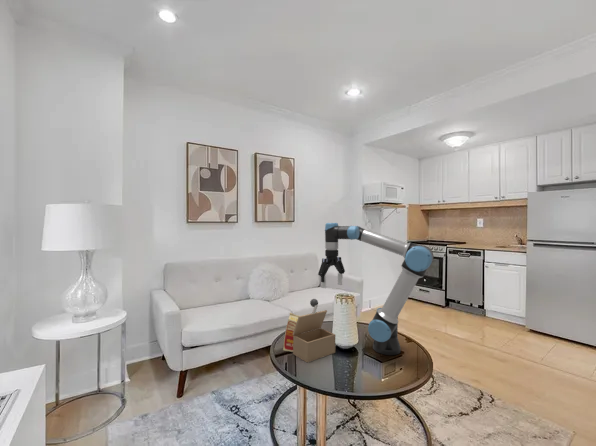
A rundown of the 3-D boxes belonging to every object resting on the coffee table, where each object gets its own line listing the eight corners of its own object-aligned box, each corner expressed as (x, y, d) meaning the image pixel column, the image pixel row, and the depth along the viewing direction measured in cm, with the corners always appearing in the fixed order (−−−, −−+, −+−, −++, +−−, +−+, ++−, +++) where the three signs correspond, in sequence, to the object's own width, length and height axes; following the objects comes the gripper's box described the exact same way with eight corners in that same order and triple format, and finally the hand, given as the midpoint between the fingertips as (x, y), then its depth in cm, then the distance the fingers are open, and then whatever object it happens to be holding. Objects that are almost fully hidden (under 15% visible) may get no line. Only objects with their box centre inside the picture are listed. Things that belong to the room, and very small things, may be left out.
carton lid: (331, 299, 164) (326, 294, 167) (303, 305, 151) (298, 299, 155) (320, 328, 170) (316, 322, 174) (293, 335, 158) (288, 329, 161)
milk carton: (283, 350, 163) (283, 314, 163) (288, 343, 171) (289, 309, 171) (298, 352, 160) (299, 316, 160) (303, 346, 168) (304, 311, 168)
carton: (335, 352, 160) (335, 334, 161) (307, 362, 148) (307, 343, 148) (320, 345, 170) (320, 328, 170) (293, 354, 158) (293, 335, 158)
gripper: (341, 248, 179) (341, 282, 179) (311, 250, 163) (311, 288, 163) (350, 248, 174) (351, 284, 173) (321, 250, 157) (321, 290, 157)
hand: (332, 286), depth 168 cm, fingers open, 13 cm apart
